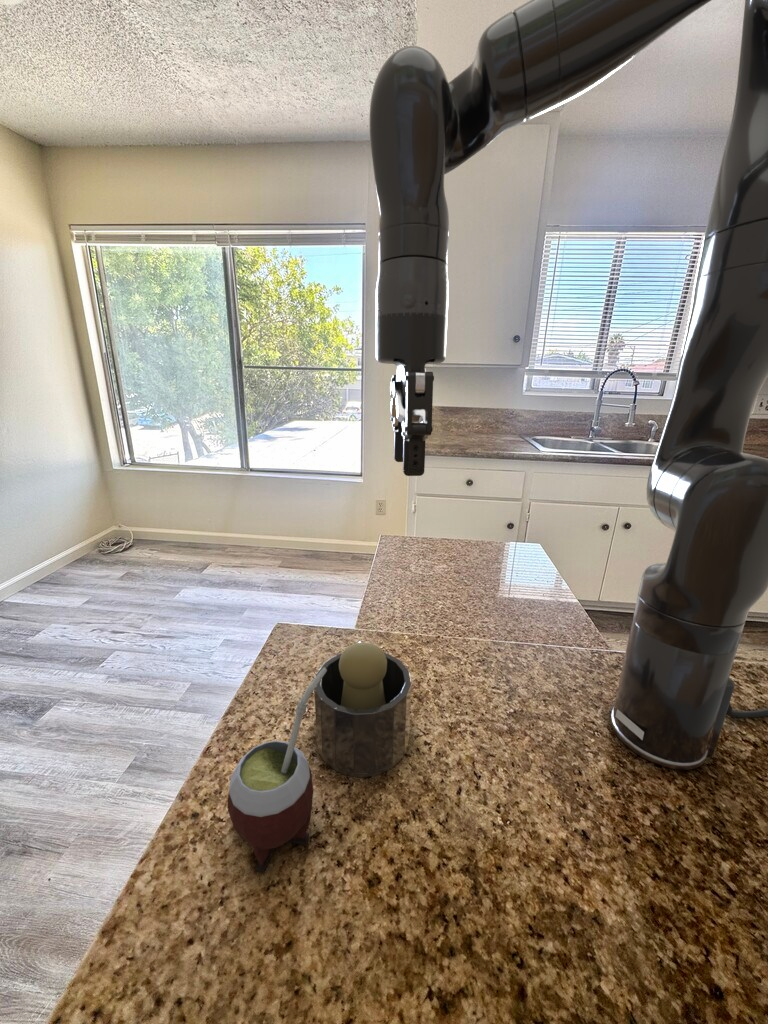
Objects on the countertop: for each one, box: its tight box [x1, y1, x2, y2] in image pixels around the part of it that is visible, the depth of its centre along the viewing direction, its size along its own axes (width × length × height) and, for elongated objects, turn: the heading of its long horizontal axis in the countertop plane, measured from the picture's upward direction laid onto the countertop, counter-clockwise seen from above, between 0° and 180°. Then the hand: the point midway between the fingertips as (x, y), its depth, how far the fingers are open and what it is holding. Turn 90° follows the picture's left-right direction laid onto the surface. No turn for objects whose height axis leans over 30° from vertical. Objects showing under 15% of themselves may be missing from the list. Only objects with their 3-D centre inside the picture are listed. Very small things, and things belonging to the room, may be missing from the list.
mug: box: [313, 640, 412, 778], centre depth 49 cm, size 14×10×8 cm
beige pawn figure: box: [339, 641, 387, 709], centre depth 46 cm, size 6×6×11 cm
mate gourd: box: [227, 667, 327, 874], centre depth 36 cm, size 8×8×15 cm
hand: (407, 467), depth 48 cm, fingers open, 8 cm apart
